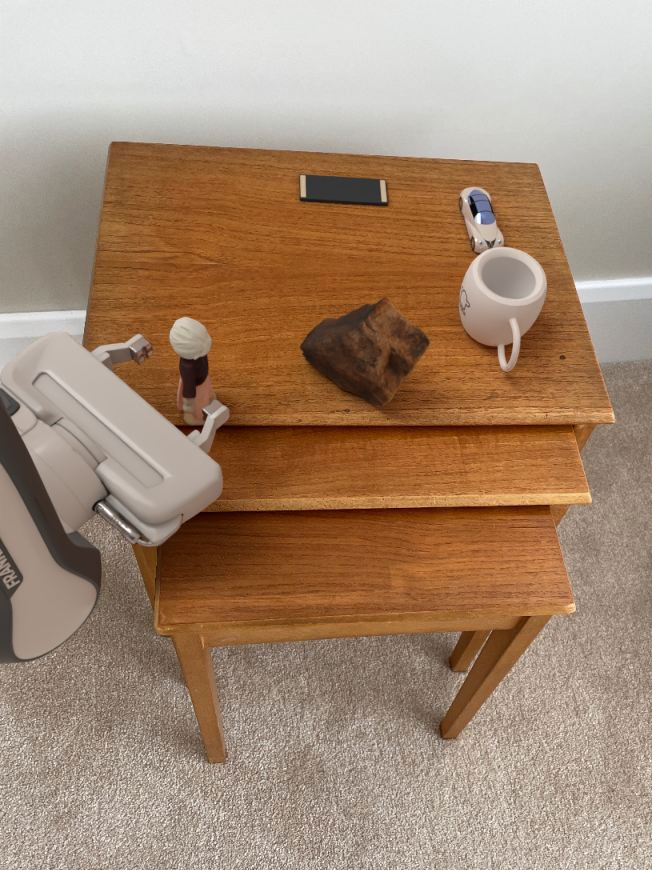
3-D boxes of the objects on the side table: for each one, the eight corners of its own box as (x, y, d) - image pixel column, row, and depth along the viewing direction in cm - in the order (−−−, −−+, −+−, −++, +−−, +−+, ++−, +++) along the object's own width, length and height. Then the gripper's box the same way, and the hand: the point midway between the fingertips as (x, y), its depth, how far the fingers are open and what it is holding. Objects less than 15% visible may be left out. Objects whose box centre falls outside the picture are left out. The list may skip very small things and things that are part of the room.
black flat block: (299, 201, 88) (299, 198, 88) (299, 176, 90) (299, 173, 89) (387, 206, 89) (387, 203, 89) (385, 181, 91) (385, 178, 91)
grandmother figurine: (179, 377, 76) (162, 288, 65) (219, 377, 77) (210, 289, 65) (177, 446, 73) (160, 365, 61) (219, 445, 73) (210, 365, 62)
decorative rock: (420, 387, 79) (441, 319, 70) (387, 428, 77) (404, 362, 67) (323, 327, 81) (331, 252, 71) (288, 365, 78) (291, 292, 69)
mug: (445, 294, 85) (461, 241, 78) (519, 294, 86) (542, 241, 79) (463, 387, 80) (482, 339, 73) (542, 384, 81) (568, 337, 74)
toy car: (479, 277, 87) (485, 260, 84) (455, 197, 91) (460, 179, 89) (510, 275, 87) (516, 259, 85) (484, 196, 92) (490, 178, 90)
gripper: (139, 542, 58) (271, 428, 63) (-40, 376, 62) (99, 283, 67) (151, 572, 63) (271, 465, 69) (-14, 419, 67) (112, 330, 73)
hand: (185, 374), depth 68 cm, fingers open, 8 cm apart
